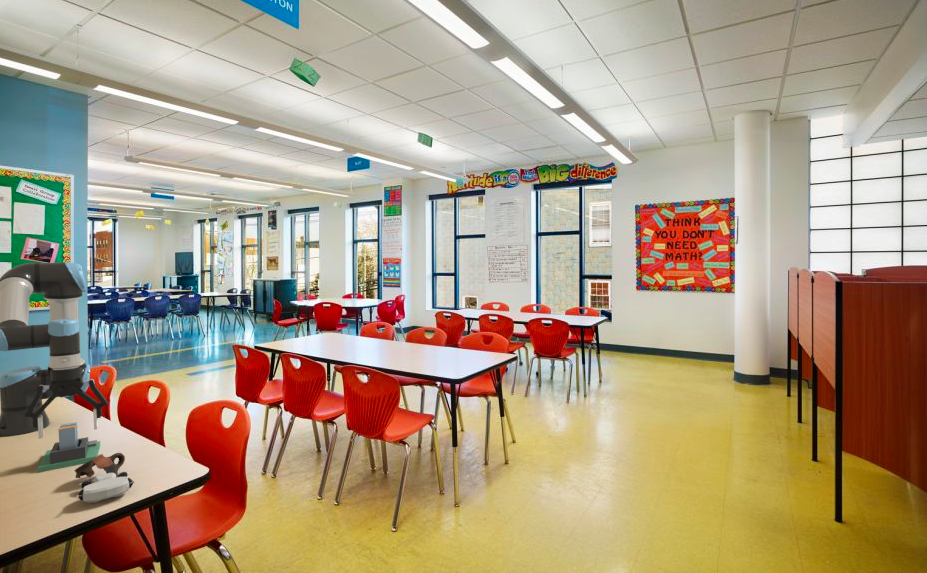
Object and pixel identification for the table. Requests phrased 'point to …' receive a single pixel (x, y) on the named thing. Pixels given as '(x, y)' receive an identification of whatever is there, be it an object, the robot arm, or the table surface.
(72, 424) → the plug
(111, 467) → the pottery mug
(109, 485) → the robot toy
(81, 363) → the robot arm
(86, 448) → the circuit board
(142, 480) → the table surface
